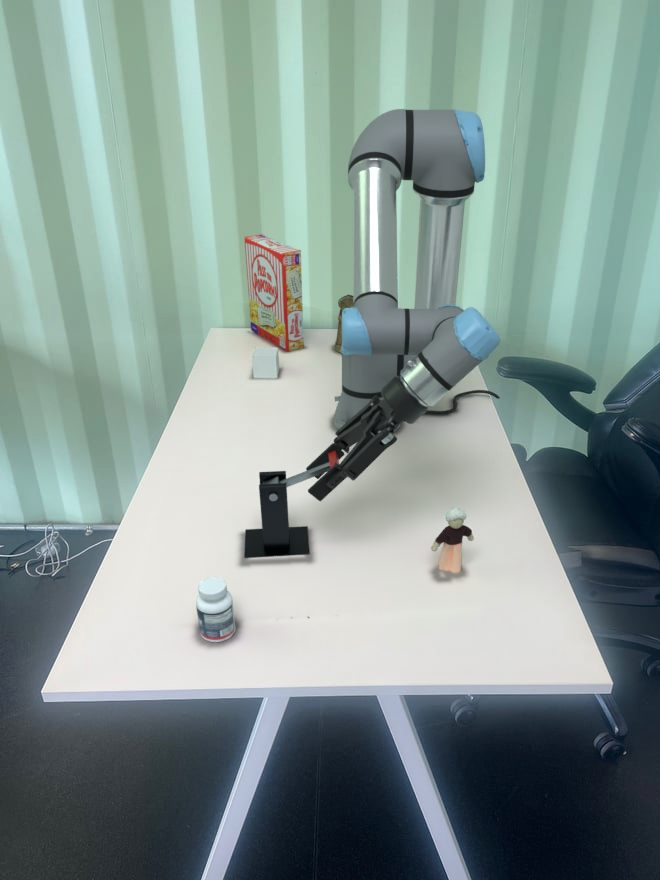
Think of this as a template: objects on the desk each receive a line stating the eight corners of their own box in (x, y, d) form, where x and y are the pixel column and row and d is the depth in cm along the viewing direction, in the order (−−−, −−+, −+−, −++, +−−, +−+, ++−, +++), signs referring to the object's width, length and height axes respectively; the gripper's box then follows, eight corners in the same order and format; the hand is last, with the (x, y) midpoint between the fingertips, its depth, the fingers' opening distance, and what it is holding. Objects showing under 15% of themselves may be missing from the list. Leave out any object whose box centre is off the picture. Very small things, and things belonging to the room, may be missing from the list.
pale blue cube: (279, 369, 199) (278, 347, 196) (277, 378, 194) (275, 356, 191) (256, 369, 199) (254, 347, 196) (253, 378, 194) (252, 355, 191)
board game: (250, 331, 223) (243, 236, 208) (268, 327, 226) (263, 233, 212) (286, 352, 209) (281, 252, 195) (305, 348, 213) (302, 249, 198)
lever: (339, 459, 128) (334, 447, 127) (342, 478, 123) (336, 466, 121) (268, 486, 129) (262, 475, 128) (268, 507, 124) (262, 495, 122)
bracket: (307, 531, 136) (305, 464, 129) (309, 559, 129) (307, 490, 122) (245, 534, 135) (239, 467, 127) (244, 563, 128) (237, 493, 120)
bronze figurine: (332, 360, 205) (331, 294, 196) (335, 342, 217) (334, 279, 207) (365, 361, 205) (365, 295, 196) (366, 343, 217) (367, 280, 207)
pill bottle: (202, 620, 116) (196, 574, 111) (237, 618, 116) (232, 572, 111) (198, 644, 111) (191, 597, 106) (234, 642, 112) (228, 595, 107)
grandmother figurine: (441, 585, 124) (446, 521, 117) (426, 573, 127) (430, 510, 120) (476, 569, 128) (483, 506, 121) (461, 558, 130) (467, 495, 124)
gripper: (389, 353, 126) (294, 443, 133) (407, 401, 109) (298, 502, 116) (419, 381, 129) (325, 469, 136) (440, 433, 113) (333, 529, 120)
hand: (313, 484), depth 126 cm, fingers closed on lever, 7 cm apart
